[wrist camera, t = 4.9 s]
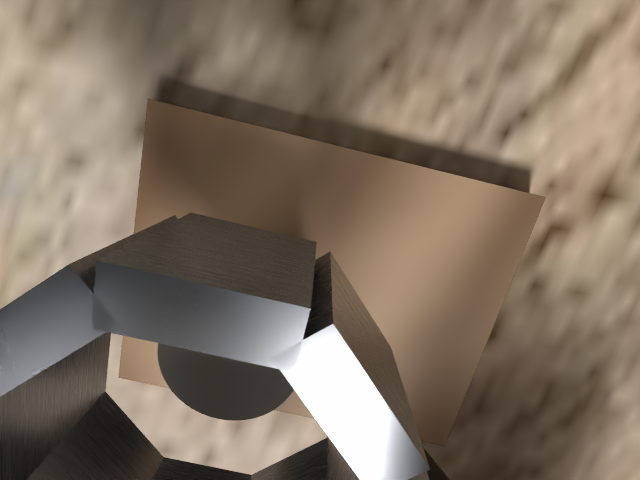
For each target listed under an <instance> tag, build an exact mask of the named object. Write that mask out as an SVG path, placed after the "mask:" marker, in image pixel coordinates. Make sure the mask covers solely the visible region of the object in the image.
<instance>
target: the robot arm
mask: <svg viewBox="0 0 640 480" xmlns="http://www.w3.org/2000/svg"><path fill="white" fill-rule="evenodd" d="M423 449H424V448H423ZM424 452H425V455H426V458H427V461H428V464H429V467H430V470H428V471H427V474H428V477H429V480H450V479H449V478H448V477H447V476H446V474H445V473H444V472H443V471H442V469H441V468H440V467H439V466H438V465H437V463H436V462H435V461H434V460H433V459H432V457H431V456H430V455H429V454H428V452H427V451H426V450H425V449H424Z"/></svg>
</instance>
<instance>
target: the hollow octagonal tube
mask: <svg viewBox="0 0 640 480" xmlns="http://www.w3.org/2000/svg"><path fill="white" fill-rule="evenodd" d="M316 246H317V242H315V241H311V240H307V239H303V238H298V237H294V236H290V235H286V234H281V233H277V232H273V231H268V230H264V229H260V228H256V227H251V226H247V225H243V224H239V223H234V222H230V221H226V220H222V219H217V218H213V217H209V216H204V215H200V214H196V213H192V212H191V213H189V214H187V215H185V216H183V217H181V218H179V219H177V217H176V216H175V215H174V216H171V217H169V218H167V219H165V220H163V221H161V222H159V223H157V224H154V225H152V226H150V227H148V228H146V229H144V230H142V231H139V232H137V233H135V234H133V235H131V236H129V237H127V238H124V239H122V240H120V241H118V242H116V243H114V244H112V245H109V246H107V247H105V248H103V249H101V250H99V251H97V252H94V253H92V254H90V255H88V256H86V257H84V258H82V259H79V260H77V261H75V262H73V263H71V264H69V265H67V266H66V267H64V268H63V269H61V270H60V271H58V272H57V273H55V274H54V275H52V276H51V277H49V278H48V279H46V280H45V281H43V282H41V283H40V284H38V285H37V286H35V287H34V288H32V289H31V290H29V291H28V292H26V293H25V294H23V295H22V296H20V297H19V298H17V299H16V300H14V301H13V302H11V303H10V304H8V305H7V306H5V307H3V308H2V309H0V480H429V477H428V474H427V471H428V470H430V467H429V464H428V461H427V458H426V455H425V452H424V449H423V445H422V442H421V439H420V436H419V433H418V430H417V427H416V424H415V421H414V417H413V414H412V411H411V408H410V405H409V402H408V399H407V396H406V392H405V389H404V386H403V383H402V380H401V377H400V374H399V371H398V368H397V364H396V361H395V358H394V355H393V352H392V349H391V347H390V345H389V343H388V342H387V340H386V339H385V337H384V335H383V334H382V332H381V331H380V329H379V328H378V326H377V324H376V323H375V321H374V320H373V318H372V316H371V315H370V313H369V312H368V310H367V309H366V307H365V305H364V304H363V302H362V301H361V299H360V297H359V296H358V294H357V293H356V291H355V290H354V288H353V286H352V285H351V283H350V282H349V280H348V279H347V277H346V275H345V274H344V272H343V271H342V269H341V267H340V266H339V264H338V263H337V261H336V260H335V258H334V256H333V255H332V253H331V252H328V253H326V254H325V255H323V256H321V257H319V258H318V259H316V260H315V256H316ZM111 333H114V334H119V335H123V336H128V337H133V338H137V339H142V340H147V341H151V342H156V343H160V344H165V345H170V346H174V347H179V348H183V349H188V350H193V351H197V352H202V353H206V354H211V355H216V356H220V357H225V358H230V359H234V360H239V361H243V362H248V363H253V364H257V365H262V366H266V367H271V368H276V369H280V371H281V372H282V374H283V375H284V376H285V378H286V379H287V380H288V382H289V383H290V385H291V386H292V387H293V389H294V390H295V391H296V393H297V394H298V395H299V397H300V398H301V400H302V401H303V402H304V404H305V405H306V406H307V408H308V409H309V410H310V412H311V413H312V415H313V416H314V417H315V419H316V420H317V421H318V423H319V424H320V425H321V427H322V428H323V430H324V431H325V432H326V434H327V435H328V437H327V438H326V439H324V440H322V441H320V442H318V443H316V444H314V445H312V446H310V447H308V448H306V449H304V450H302V451H299V452H297V453H295V454H293V455H291V456H289V457H287V458H285V459H283V460H281V461H279V462H277V463H275V464H273V465H271V466H269V467H267V468H265V469H263V470H261V471H259V472H257V473H255V474H253V475H249V474H244V473H239V472H234V471H229V470H224V469H219V468H214V467H209V466H204V465H199V464H194V463H189V462H185V461H180V460H175V459H170V458H165V457H163V456H162V455H161V454H160V453H159V452H158V450H157V449H156V448H155V447H154V446H153V445H152V444H151V442H150V441H149V440H148V439H147V438H146V437H145V436H144V435H143V433H142V432H141V431H140V430H139V429H138V428H137V427H136V426H135V424H134V423H133V422H132V421H131V420H130V419H129V418H128V417H127V415H126V414H125V413H124V412H123V411H122V410H121V409H120V408H119V406H118V405H117V404H116V403H115V402H114V401H113V400H112V398H111V397H110V396H109V395H108V394H107V393H106V392H105V389H106V379H107V368H108V357H109V347H110V336H111Z"/></svg>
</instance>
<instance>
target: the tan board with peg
mask: <svg viewBox="0 0 640 480" xmlns="http://www.w3.org/2000/svg"><path fill="white" fill-rule="evenodd" d="M545 198H546V197H543V196H539V195H535V194H531V193H527V192H523V191H519V190H515V189H511V188H506V187H502V186H498V185H494V184H490V183H486V182H482V181H478V180H474V179H470V178H466V177H462V176H458V175H454V174H450V173H446V172H442V171H438V170H434V169H430V168H426V167H422V166H418V165H414V164H410V163H406V162H402V161H397V160H393V159H389V158H385V157H381V156H377V155H373V154H369V153H365V152H361V151H357V150H353V149H349V148H345V147H341V146H337V145H333V144H329V143H325V142H321V141H317V140H313V139H309V138H305V137H301V136H297V135H293V134H289V133H284V132H280V131H276V130H272V129H268V128H264V127H260V126H256V125H252V124H248V123H244V122H240V121H236V120H232V119H228V118H224V117H220V116H216V115H212V114H208V113H204V112H200V111H196V110H192V109H188V108H184V107H180V106H175V105H171V104H167V103H163V102H159V101H155V100H151V99H148V104H147V113H146V123H145V132H144V142H143V151H142V160H141V170H140V179H139V189H138V198H137V208H136V217H135V227H134V234H135V233H137V232H139V231H142V230H144V229H146V228H148V227H150V226H152V225H154V224H157V223H159V222H161V221H163V220H165V219H167V218H169V217H171V216H174V215H175V216H176V217H177V219H179V218H181V217H183V216H185V215H187V214H189V213H191V212H192V213H196V214H200V215H204V216H209V217H213V218H217V219H222V220H226V221H230V222H234V223H239V224H243V225H247V226H251V227H256V228H260V229H264V230H268V231H273V232H277V233H281V234H286V235H290V236H294V237H298V238H303V239H307V240H311V241H315V242H317V246H316V256H315V260H316V259H318V258H319V257H321V256H323V255H325V254H326V253H328V252H331V253H332V255H333V256H334V258H335V260H336V261H337V263H338V264H339V266H340V267H341V269H342V271H343V272H344V274H345V275H346V277H347V279H348V280H349V282H350V283H351V285H352V286H353V288H354V290H355V291H356V293H357V294H358V296H359V297H360V299H361V301H362V302H363V304H364V305H365V307H366V309H367V310H368V312H369V313H370V315H371V316H372V318H373V320H374V321H375V323H376V324H377V326H378V328H379V329H380V331H381V332H382V334H383V335H384V337H385V339H386V340H387V342H388V343H389V345H390V347H391V349H392V352H393V355H394V358H395V361H396V364H397V368H398V371H399V374H400V377H401V380H402V383H403V386H404V389H405V392H406V396H407V399H408V402H409V405H410V408H411V411H412V414H413V417H414V421H415V424H416V427H417V430H418V433H419V436H420V439H421V441H423V442H428V443H433V444H438V445H443V446H445V445H446V442H447V440H448V437H449V435H450V432H451V430H452V427H453V425H454V422H455V420H456V418H457V415H458V413H459V410H460V408H461V405H462V403H463V400H464V398H465V395H466V393H467V390H468V388H469V385H470V383H471V381H472V378H473V376H474V373H475V371H476V368H477V366H478V363H479V361H480V358H481V356H482V353H483V351H484V348H485V346H486V344H487V341H488V339H489V336H490V334H491V331H492V329H493V326H494V324H495V321H496V319H497V316H498V314H499V311H500V309H501V307H502V304H503V302H504V299H505V297H506V294H507V292H508V289H509V287H510V284H511V282H512V279H513V277H514V274H515V272H516V270H517V267H518V265H519V262H520V260H521V257H522V255H523V252H524V250H525V247H526V245H527V242H528V240H529V237H530V235H531V233H532V230H533V228H534V225H535V223H536V220H537V218H538V215H539V213H540V210H541V208H542V205H543V203H544V200H545ZM119 378H123V379H128V380H132V381H137V382H142V383H147V384H151V385H156V386H161V387H166V388H170V389H171V390H172V392H173V393H174V394H175V395H176V396H177V397H178V398H179V399H180V400H181V401H182V402H184V403H185V404H186V405H188V406H189V407H191V408H192V409H194V410H196V411H198V412H200V413H202V414H205V415H207V416H210V417H214V418H218V419H224V420H247V419H252V418H256V417H259V416H262V415H265V414H267V413H269V412H271V411H273V410H276V411H280V412H285V413H290V414H295V415H299V416H304V417H309V418H314V419H315V417H314V416H313V415H312V413H311V412H310V410H309V409H308V408H307V406H306V405H305V404H304V402H303V401H302V400H301V398H300V397H299V395H298V394H297V393H296V391H295V390H294V389H293V387H292V386H291V385H290V383H289V382H288V380H287V379H286V378H285V376H284V375H283V374H282V372H281V371H280V369H276V368H271V367H266V366H262V365H257V364H253V363H248V362H243V361H239V360H234V359H230V358H225V357H220V356H216V355H211V354H206V353H202V352H197V351H193V350H188V349H183V348H179V347H174V346H170V345H165V344H160V343H156V342H151V341H147V340H142V339H137V338H133V337H128V336H123V340H122V349H121V359H120V368H119Z"/></svg>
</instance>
